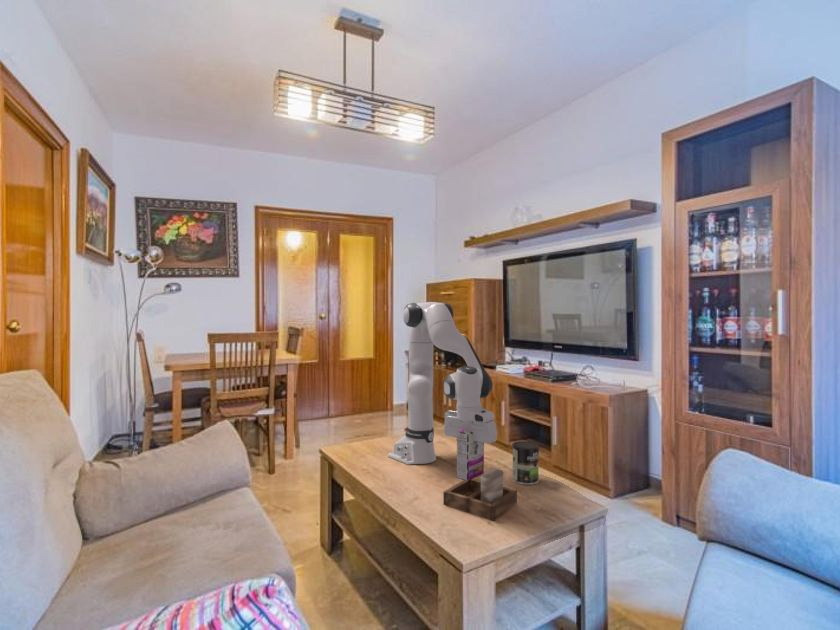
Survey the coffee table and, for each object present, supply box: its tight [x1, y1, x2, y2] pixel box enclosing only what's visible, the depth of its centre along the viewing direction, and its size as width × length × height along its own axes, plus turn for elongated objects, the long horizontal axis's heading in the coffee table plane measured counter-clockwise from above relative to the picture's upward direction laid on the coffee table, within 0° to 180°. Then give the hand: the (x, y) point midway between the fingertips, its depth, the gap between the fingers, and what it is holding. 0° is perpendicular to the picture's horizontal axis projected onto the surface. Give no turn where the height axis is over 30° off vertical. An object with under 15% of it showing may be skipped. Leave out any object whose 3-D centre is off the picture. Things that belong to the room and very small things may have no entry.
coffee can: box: [511, 440, 540, 486], centre depth 185 cm, size 10×10×14 cm
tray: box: [442, 467, 518, 522], centre depth 163 cm, size 20×17×12 cm
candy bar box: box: [456, 430, 485, 481], centre depth 165 cm, size 11×5×16 cm, turn 142°
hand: (470, 451), depth 165 cm, fingers closed on candy bar box, 5 cm apart
